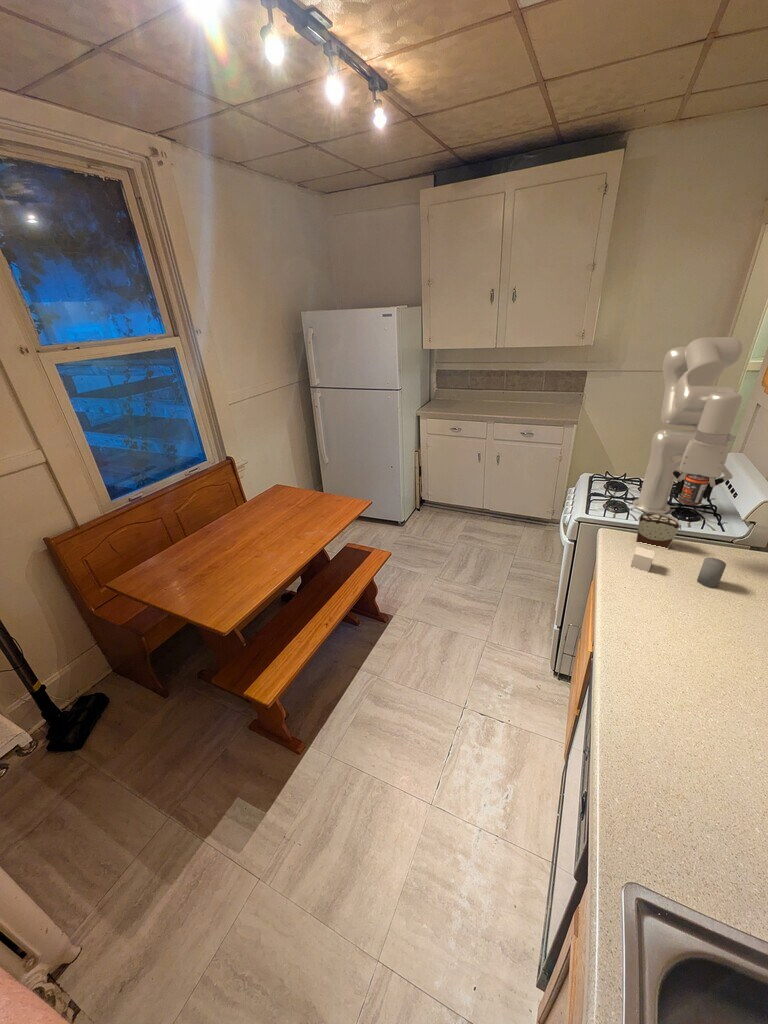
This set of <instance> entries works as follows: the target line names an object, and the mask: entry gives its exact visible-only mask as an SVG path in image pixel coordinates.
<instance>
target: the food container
mask: <svg viewBox="0 0 768 1024" xmlns="http://www.w3.org/2000/svg"><path fill="white" fill-rule="evenodd" d="M636 521H637V522H638V528H637V534H636V535H637V536H636V541H635V543H636V542H642V543H647V544H651V545H656V546H661V547H665V548H668V549H667V550H669V549H670V547H671V546H672V543H673V541H674V538H675V536H676V535H677V532H678V530H680V531H681V530H682V525H681V521H680V520H679V519H677V518H676V517H674V516H671V515H669V514H667V513H664V514H662V513H656V512H644V513H642V514H640V515H639V516H638V518H637V520H636Z"/></svg>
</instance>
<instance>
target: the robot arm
mask: <svg viewBox="0 0 768 1024" xmlns="http://www.w3.org/2000/svg"><path fill="white" fill-rule="evenodd" d="M742 352H743V344H742V341H741V339H739V338H737V337H733V336H732V337H731V336H721V337H719V336H716V337H715V336H714V337H713V336H712V337H710V336H708V337H707V336H706V337H700V338H696V339H694V340H692V341H690V343H688V344H687V345H686V346H677V347H673V348H671V349H669V350H667V352H666V353H665V356H664V359H663V362H662V363H663V364H662V377H663V380H664V381H663V382H664V393H663V394H664V395H663V398H662V399H663V400H662V405H661V413H660V422H661V423H662V424H663V425H666V426H672V427H673V426H674V427H689V428H693V430H692V429H675V428H674V429H673V428H665V429H660V430H658V431H656V432H655V433H654V434H653V436H652V439H651V446H650V447H651V448H650V457H649V460H648V464H647V468H646V472H645V474H644V478H643V482H642V486H641V489H640V493H639V497H638V498H636V499H634V500H633V501H632V506H633V507H634V508H635V509H636V510H638V511H641V512H644V513H647V512H656V513H662V514H667V513H669V512H670V510H671V506H670V505H669V504H668V501H669V497H670V494H671V491H672V488H673V484H674V482H675V479H677V482H676V486H675V489H674V490H675V491H676V494H677V495H679V494H680V491H681V488H682V485H683V482H684V479H685V476H686V475H687V474H691V475H701V476H704V477H709V483H708V486H707V488H706V491H705V494H704V496H703V499H704V500H707V497H711V495H712V492H713V489H714V488H715V487H716V486H719V485H720V484H722V483H725V482H727V481H729V480H731V479H733V474H732V473H731V471H730V470H729V469H728V467H727V466H726V461H727V458H728V455H729V449H730V443H729V442H731V441H733V442H734V441H735V440H736V438H737V435H733V434H731V431H732V429H733V427H734V423H735V421H736V419H737V416H738V413H739V410H740V408H741V404H742V402H743V395H741V394H740V393H739V392H738V390H737V389H736V388H734V387H731V386H716V385H715V386H711V385H708V384H709V383H712V382H714V381H716V380H718V378H720V376H721V375H723V372H724V370H725V369H727V368H729V367H732V366H733V365H735V364H736V363H737V362H738V361H739V360H740V357H741V356H742ZM674 457H682V458H681V459H679V460H677V461H676V460H675V459H674ZM678 467H679V468H678ZM722 474H723V476H722V477H721V475H722Z"/></svg>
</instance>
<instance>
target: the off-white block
mask: <svg viewBox="0 0 768 1024" xmlns="http://www.w3.org/2000/svg"><path fill="white" fill-rule="evenodd" d="M655 553H656V551H654V550H652V549H647V548H643V547H642V546H641V547H640V546H636V547H635V551H634V553H633V556H632V561H631V562H630V566H631V567H630V568H633V567H635V568H634V569H636V568H638V569H637V570H639V569H641V570H640V571H643V570H644V571H643V572H646V571H647V572H648V573H649V572H650V569H651V566H652V563H653V559H654V557H655ZM647 572H646V573H647Z"/></svg>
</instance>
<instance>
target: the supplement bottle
mask: <svg viewBox="0 0 768 1024" xmlns="http://www.w3.org/2000/svg"><path fill="white" fill-rule="evenodd" d="M683 480H684V482H683V485H682V488H681V491H680V494H678V497H677V500H678V501H679V502H680V503H682V504H685V505H687V506H699V505H701V504H702V502H703V499H704V498H703V496H704V494H705V491H706V488H707V486H708V484H709V482H710V481H709V477H704V476H701V475H691V474H687V475H686V476H685V478H684V479H683Z"/></svg>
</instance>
